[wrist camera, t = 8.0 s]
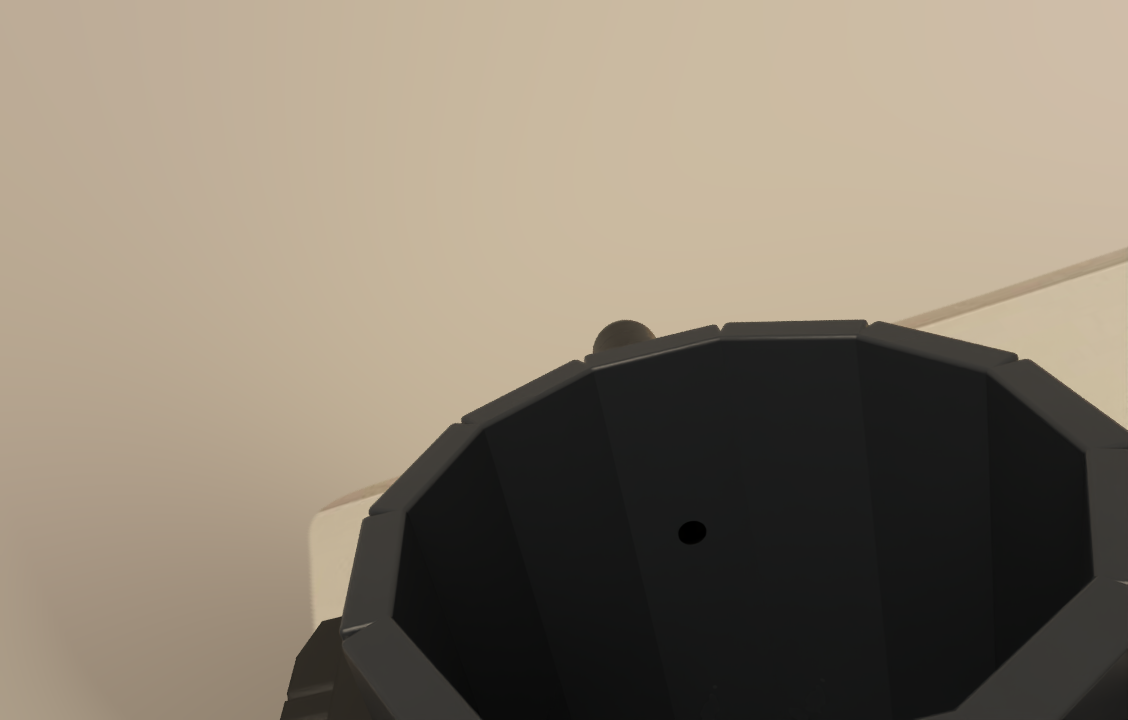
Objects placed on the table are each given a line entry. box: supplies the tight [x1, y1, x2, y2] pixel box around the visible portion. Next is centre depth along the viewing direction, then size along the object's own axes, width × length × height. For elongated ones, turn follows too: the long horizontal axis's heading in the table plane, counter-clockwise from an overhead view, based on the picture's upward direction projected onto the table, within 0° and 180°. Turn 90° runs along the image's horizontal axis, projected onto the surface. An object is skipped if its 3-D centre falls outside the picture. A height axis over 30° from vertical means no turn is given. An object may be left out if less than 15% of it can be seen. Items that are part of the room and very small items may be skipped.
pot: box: [339, 320, 1128, 720], centre depth 12 cm, size 12×6×9 cm, turn 5°
